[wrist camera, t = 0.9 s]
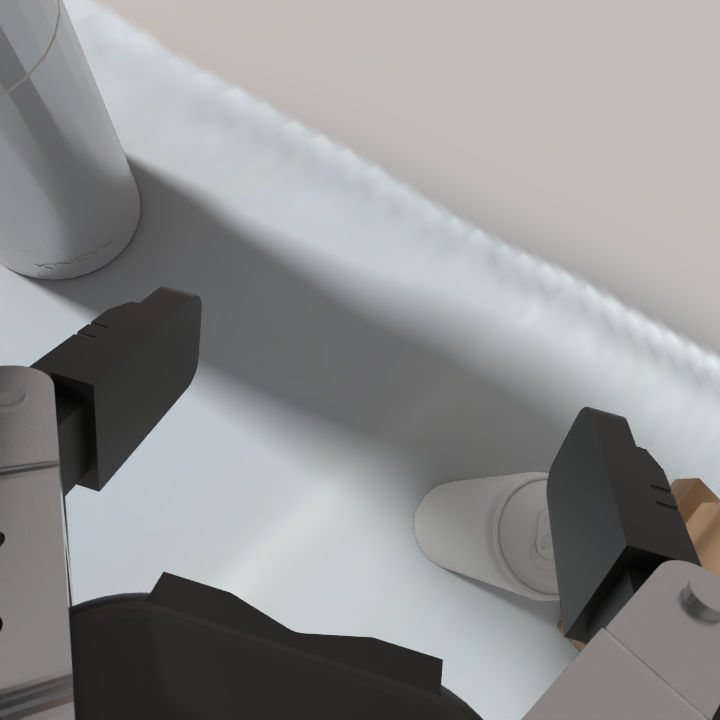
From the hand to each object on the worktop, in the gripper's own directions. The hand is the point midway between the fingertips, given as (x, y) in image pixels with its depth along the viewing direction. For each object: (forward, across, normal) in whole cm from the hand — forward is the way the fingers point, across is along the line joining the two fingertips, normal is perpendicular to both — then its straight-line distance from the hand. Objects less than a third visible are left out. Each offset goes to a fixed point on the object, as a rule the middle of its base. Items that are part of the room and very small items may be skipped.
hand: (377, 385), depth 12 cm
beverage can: (+14, -6, +18) cm, 23 cm away
